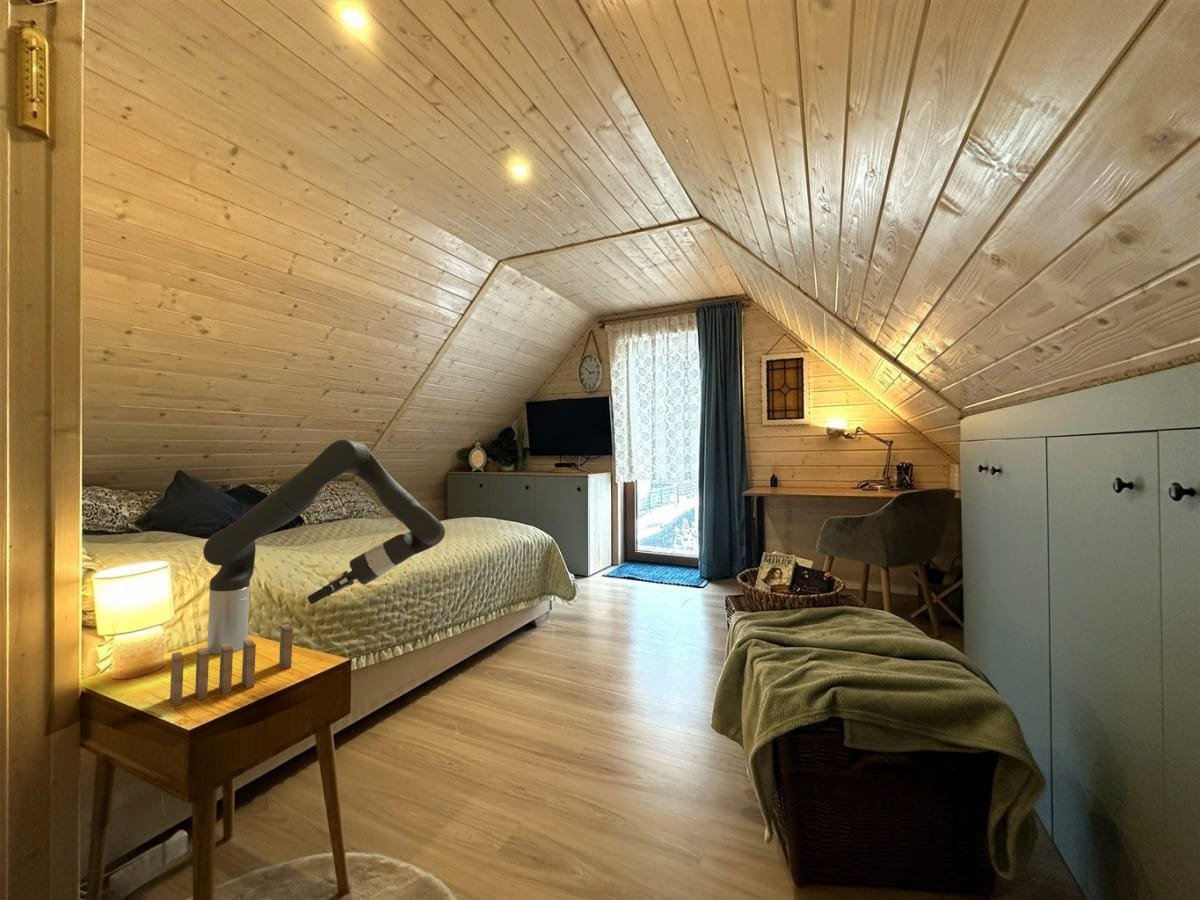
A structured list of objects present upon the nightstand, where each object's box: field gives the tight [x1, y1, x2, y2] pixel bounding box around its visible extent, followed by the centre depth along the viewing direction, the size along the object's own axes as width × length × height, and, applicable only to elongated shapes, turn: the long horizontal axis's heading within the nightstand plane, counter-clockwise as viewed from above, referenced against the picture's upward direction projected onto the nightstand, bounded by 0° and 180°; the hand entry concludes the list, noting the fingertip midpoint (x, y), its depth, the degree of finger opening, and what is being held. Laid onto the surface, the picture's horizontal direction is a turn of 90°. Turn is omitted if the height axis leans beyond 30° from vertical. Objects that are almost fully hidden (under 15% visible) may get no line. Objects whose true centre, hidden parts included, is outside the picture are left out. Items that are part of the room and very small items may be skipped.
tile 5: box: [169, 651, 185, 707], centre depth 117 cm, size 5×2×10 cm, turn 44°
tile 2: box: [241, 638, 257, 690], centre depth 126 cm, size 5×2×10 cm, turn 44°
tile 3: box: [218, 643, 234, 695], centre depth 123 cm, size 5×2×10 cm, turn 44°
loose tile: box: [278, 623, 294, 669], centre depth 138 cm, size 5×2×10 cm, turn 44°
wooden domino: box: [194, 646, 210, 701], centre depth 120 cm, size 5×2×10 cm, turn 44°
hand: (313, 597), depth 136 cm, fingers open, 8 cm apart
